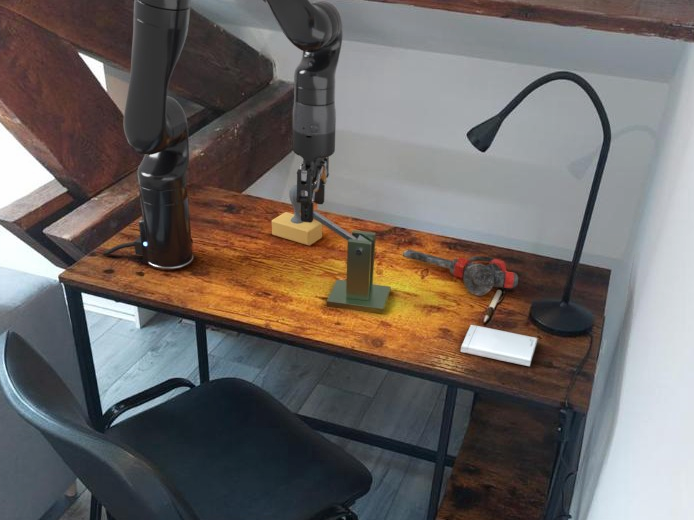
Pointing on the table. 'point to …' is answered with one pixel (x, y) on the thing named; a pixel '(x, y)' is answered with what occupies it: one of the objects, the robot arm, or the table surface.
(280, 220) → the rubber stamp
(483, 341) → the hard drive
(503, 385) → the table surface
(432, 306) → the table surface
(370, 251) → the bracket
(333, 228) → the lever
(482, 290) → the valve
